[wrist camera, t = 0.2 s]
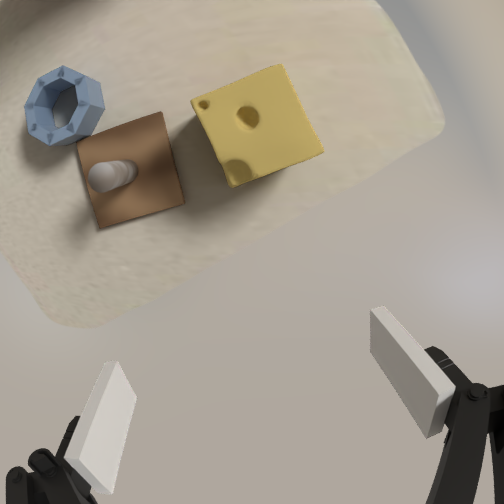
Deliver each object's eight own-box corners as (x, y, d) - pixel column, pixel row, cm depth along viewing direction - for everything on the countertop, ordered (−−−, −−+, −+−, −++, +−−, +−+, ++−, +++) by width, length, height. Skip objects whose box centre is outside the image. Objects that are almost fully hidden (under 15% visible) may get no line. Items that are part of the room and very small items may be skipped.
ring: (40, 92, 33) (21, 87, 28) (96, 65, 33) (82, 56, 28) (51, 152, 36) (32, 153, 31) (109, 128, 36) (94, 125, 31)
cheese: (229, 185, 40) (230, 196, 30) (193, 109, 36) (183, 95, 27) (304, 152, 39) (328, 154, 30) (270, 77, 36) (284, 55, 26)
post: (79, 142, 36) (41, 142, 26) (162, 112, 36) (142, 100, 26) (102, 226, 40) (71, 249, 30) (185, 202, 40) (173, 219, 30)
